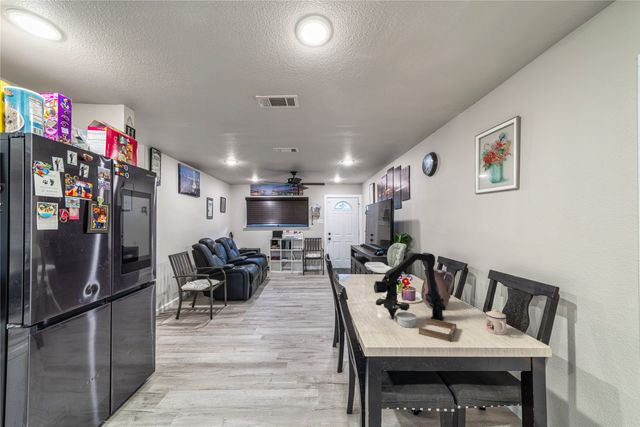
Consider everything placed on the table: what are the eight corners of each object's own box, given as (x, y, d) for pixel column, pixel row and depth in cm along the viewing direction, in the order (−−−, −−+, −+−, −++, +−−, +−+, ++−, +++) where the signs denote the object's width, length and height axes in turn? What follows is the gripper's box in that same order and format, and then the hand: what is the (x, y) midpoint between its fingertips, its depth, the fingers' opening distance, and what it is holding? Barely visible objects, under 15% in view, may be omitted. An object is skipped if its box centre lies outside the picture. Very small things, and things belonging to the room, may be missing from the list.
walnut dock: (426, 323, 146) (426, 317, 146) (456, 329, 137) (456, 323, 138) (418, 334, 132) (418, 328, 132) (451, 341, 123) (450, 335, 124)
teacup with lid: (482, 327, 139) (482, 306, 140) (500, 328, 138) (499, 306, 139) (495, 337, 128) (494, 314, 128) (514, 338, 127) (514, 314, 127)
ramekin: (408, 330, 137) (408, 320, 137) (392, 323, 146) (392, 314, 146) (421, 325, 143) (421, 316, 143) (404, 319, 152) (404, 310, 153)
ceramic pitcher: (422, 301, 186) (421, 267, 187) (454, 305, 176) (454, 269, 177) (420, 309, 170) (419, 271, 171) (456, 313, 161) (455, 274, 162)
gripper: (371, 292, 149) (372, 319, 149) (403, 298, 138) (404, 327, 138) (379, 288, 158) (379, 314, 158) (409, 293, 147) (410, 320, 147)
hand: (392, 318), depth 150 cm, fingers closed
